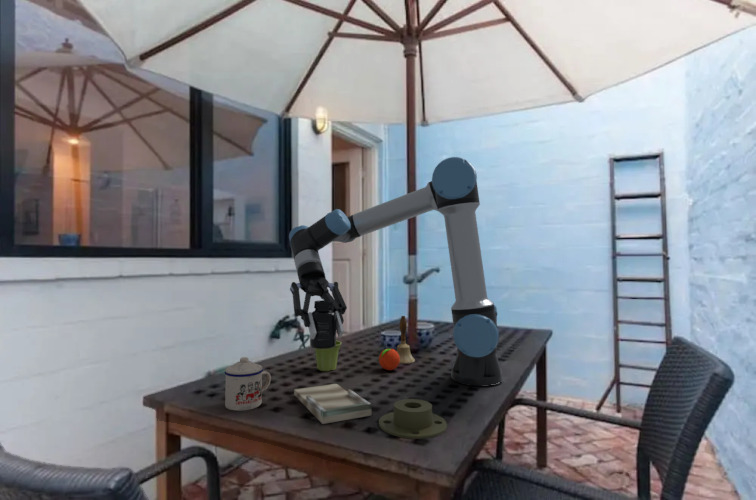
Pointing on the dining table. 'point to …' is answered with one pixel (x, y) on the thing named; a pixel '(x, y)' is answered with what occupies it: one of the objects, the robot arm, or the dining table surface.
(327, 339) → the supplement bottle
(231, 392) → the teacup with lid
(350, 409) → the rail board
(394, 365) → the clementine
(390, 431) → the flange
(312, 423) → the dining table surface
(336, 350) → the plant pot
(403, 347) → the hand bell
